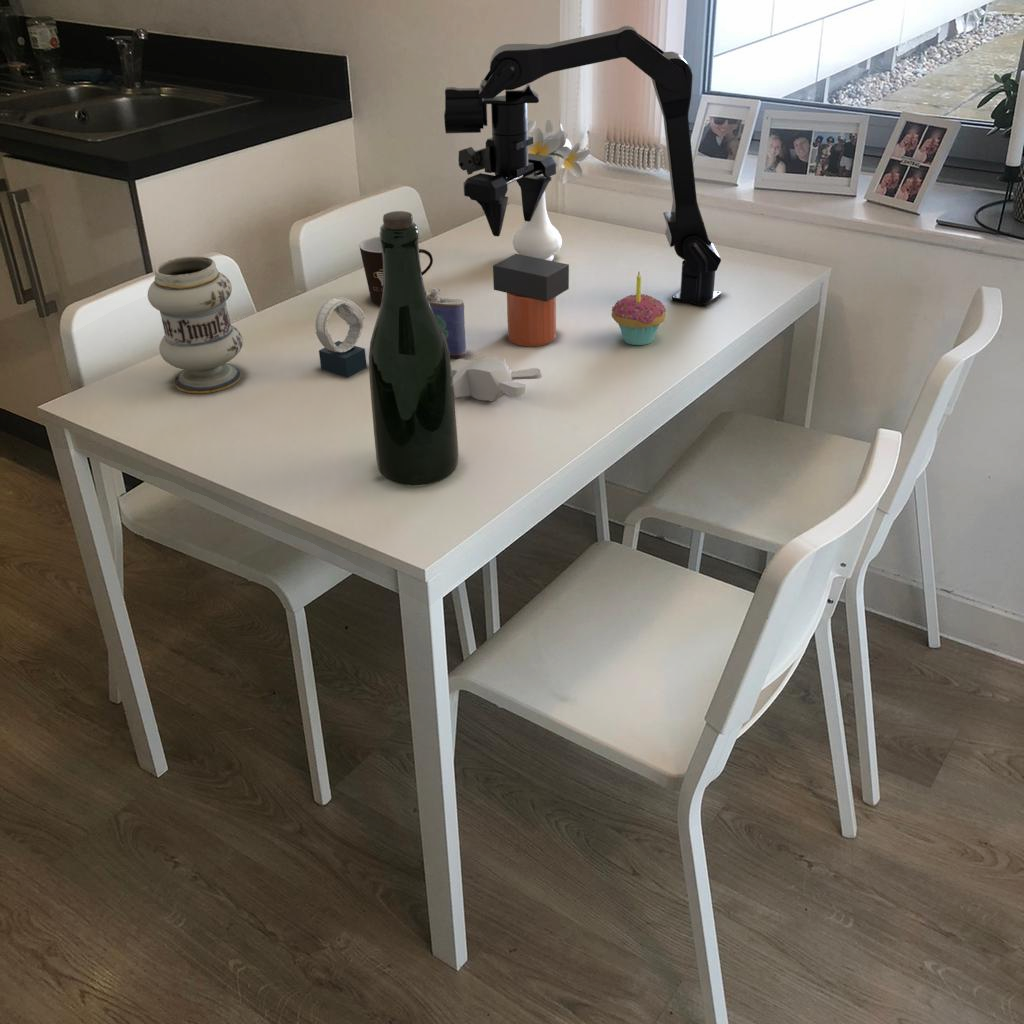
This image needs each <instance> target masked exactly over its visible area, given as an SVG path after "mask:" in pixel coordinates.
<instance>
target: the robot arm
mask: <svg viewBox="0 0 1024 1024" xmlns="http://www.w3.org/2000/svg"><path fill="white" fill-rule="evenodd" d="M621 58H625V59H627V61H629V62H631V63H632V64H633V65H635V66H636V67H637V68H638V69H639V70H641V72H643V73H644V74H646V75H647V76H648V77H649V78H650V79H651V83H652V85H653V89H654V93H655V96H656V99H657V102H658V105H659V108H660V111H661V114H662V118H663V127H664V134H665V143H666V153H667V160H668V171H669V180H670V188H671V196H672V205H671V210H670V211H664V212H663V213H662V215H663V217H664V221H665V225H666V230H665V233H664V234H665V237H666V239H667V242H668V244H669V247H670V248H672V247H673V249H674V251H675V254H676V255H677V257H679V258H680V259H682V262H681V274H680V290H678V292H676V293H675V294H673V295H672V296H671V299H672V300H674V301H679V302H683V303H688V304H692V305H697V306H701V307H706V306H708V305H709V304H711V303H712V302H714V301H715V300H716V299H717V298H719V297H721V296H722V292H721V291H718V290H715V282H716V272H717V271H718V268H719V266H720V264H721V262H722V258H721V256H720V254H719V253H718V251H717V249H716V247H715V245H714V243H713V242H712V240H711V239H710V238H709V235H708V231H707V229H706V225H705V222H704V220H703V216H702V212H701V210H700V207H699V204H698V203H699V202H698V198H697V189H696V180H695V169H694V159H693V150H692V140H691V131H690V130H691V129H690V121H689V120H690V119H689V114H690V107H691V101H692V91H693V72H692V68H691V67H690V65H689V64H688V62H687V61H686V60H685V59H684V57H683V56H682V55H681V54H679V53H678V52H676V51H664V50H663V49H661V48H660V47H659V46H657V45H656V44H655V43H653V42H652V41H650V40H649V39H647V38H646V37H644V36H643V35H642V34H640V33H639V32H638V31H637V29H636V28H634V27H633V26H630V25H623V26H620V27H619V28H617V29H612V30H607V31H603V32H598V33H594V34H589V35H584V36H580V37H576V38H570V39H566V40H562V41H557V42H552V43H546V44H536V43H506V44H503V45H500V46H498V47H497V48H496V49H494V51H493V53H492V55H491V57H490V61H489V71H488V72H487V73H486V75H485V77H484V78H483V79H481V82H480V84H479V87H457V86H446V87H445V88H444V97H445V98H444V112H443V116H444V131H445V134H478V133H480V134H481V133H482V130H483V129H484V127H488V105H490V110H491V137H489V138H486V140H485V147H483V148H480V149H476V150H474V149H475V148H473V147H472V146H469V147H467V148H463V149H460V150H458V158H457V159H458V167H459V168H460V170H462V171H466V175H468V176H469V175H472V174H474V173H476V172H478V171H482V170H484V173H482V172H479V173H477V174H474V175H472V176H470V177H468V178H466V179H465V181H464V182H463V195H464V197H468V198H469V199H470V200H471V201H475V202H476V203H477V204H478V205H480V207H481V209H482V211H483V213H484V215H485V218H486V220H487V223H488V226H489V228H490V231H491V234H492V235H493V237H496V238H497V237H500V236H501V232H502V229H503V226H504V225H503V224H504V221H505V220H504V219H505V216H506V211H507V206H508V203H509V196H506V195H507V193H508V190H509V189H508V185H509V184H512V183H513V182H516V183H517V184H518V186H519V187H520V193H521V194H520V195H521V205H522V206H521V207H522V215H523V219H524V221H528V222H529V221H531V219H532V217H533V215H534V212H535V210H536V208H537V206H538V203H539V201H540V199H541V197H542V195H543V193H544V191H545V192H546V189H547V187H548V186H549V183H551V182H552V178H553V177H552V176H555V175H557V167H556V162H557V161H556V162H555V161H554V160H553V158H552V157H551V156H544V155H537V154H530V153H529V154H528V146H529V145H531V144H533V137H528V122H529V120H528V119H529V117H528V115H529V111H528V109H529V108H528V104H538V103H539V102H540V95H539V94H538V93H537V92H536V91H535V90H534V89H533V88H532V86H531V85H530V84H531V83H533V82H535V81H537V80H539V79H540V78H542V77H544V76H547V75H549V74H551V73H555V72H560V71H564V70H570V69H574V68H579V67H584V66H588V65H593V64H598V63H602V62H607V61H612V60H617V59H621ZM524 86H525V87H524ZM521 87H524V88H523V89H519V88H521ZM503 91H505V95H500V94H501V93H502V92H503Z"/></svg>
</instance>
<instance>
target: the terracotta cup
mask: <svg viewBox="0 0 1024 1024" xmlns="http://www.w3.org/2000/svg"><path fill="white" fill-rule="evenodd" d="M506 311H507V315H506V316H507V317H506V318H507V338H508V340H509V342H511V343H512V344H514V345H517V346H520V347H540V346H541V347H542V346H545V345H548V344H550V343H552V342H554V341H555V339H556V338H557V296H556V297H554V298H552V299H551V300H549V301H547V302H545V301H541V300H537V299H532V298H528V297H523V296H519V295H515V294H510V293H506Z"/></svg>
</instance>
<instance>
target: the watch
mask: <svg viewBox="0 0 1024 1024" xmlns="http://www.w3.org/2000/svg"><path fill="white" fill-rule="evenodd" d="M333 312H335V313H336V314H337V315H338V316H339V317H340V318H341V320H343V321H344V322H345V324H346V325H347V326H348V331H347V334H346V336H345V338H344V339H343V341H341V340H337V341H334V340H333V338H332V336H331V333H329V331H328V321H329V318H330V317H331V314H332V313H333ZM365 315H366V314H365V313H364V311H363V310H362V309H361V307H360V306H359V305H357V303H354V302H353V301H352V300H350V299H349V298H345V297H342V296H341V297H340V296H339V297H338V298H336V297H331V298H329V299H328V300H326V301H325V302H323V304H321V306H320V308H319V310H318V312H317V314H316V318H315V334H316V337H317V339H318V341H319V343H320V344H321V345H322V346H323V347H322V348H321V349H319V350H318V354H319V355H318V356H319V362H320V363H319V365H320V369H321V370H322V371H325V372H328V373H331V374H335V375H337V376H341V377H344V378H350V377H352V376H354V375H355V374H357V373H360V372H361V371H363V370H365V369H367V368H368V366H367V356H366V355H367V354H366V348H364V347H360V346H358V345H357V343H358V342H359V340H360V337H361V335H362V330H363V328H364V320H365V318H366V316H365Z"/></svg>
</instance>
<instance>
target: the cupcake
mask: <svg viewBox="0 0 1024 1024" xmlns="http://www.w3.org/2000/svg"><path fill="white" fill-rule="evenodd" d="M637 272H638V273H637V275H636V289H635V291H636V292H635V294H629V295H627V296H625V297H623V298H621V299H620V300H617V301H616V302H615V303H614V306H611V307H612V309H611V318H612V319H613V320H614V321H615V322H616V324H617V325H618V326H619V329H620V332H621V335H622V340H623V341H624V343H627V344H629V345H633V346H645V345H649V344H652V342H654V339H655V336H656V333H657V332H658V330H659V327H660V325H661V324H662V323H664V322H665V320H666V313H667V310H666V307H665V305H664V304H663V303H662V302H661V301H660V300H659V299H657V298H655V297H653V296H651V295H648V294H641V290H642V275H641V273H640V271H637Z"/></svg>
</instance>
